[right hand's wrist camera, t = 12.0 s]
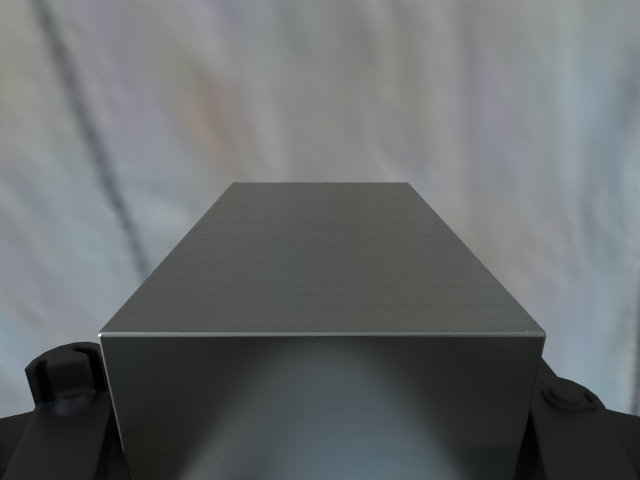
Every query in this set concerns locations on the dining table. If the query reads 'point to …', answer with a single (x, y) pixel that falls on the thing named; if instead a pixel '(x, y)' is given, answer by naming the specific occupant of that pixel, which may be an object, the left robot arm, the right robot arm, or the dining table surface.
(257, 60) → the dining table surface
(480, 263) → the box
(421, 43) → the dining table surface
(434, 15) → the dining table surface
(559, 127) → the dining table surface
